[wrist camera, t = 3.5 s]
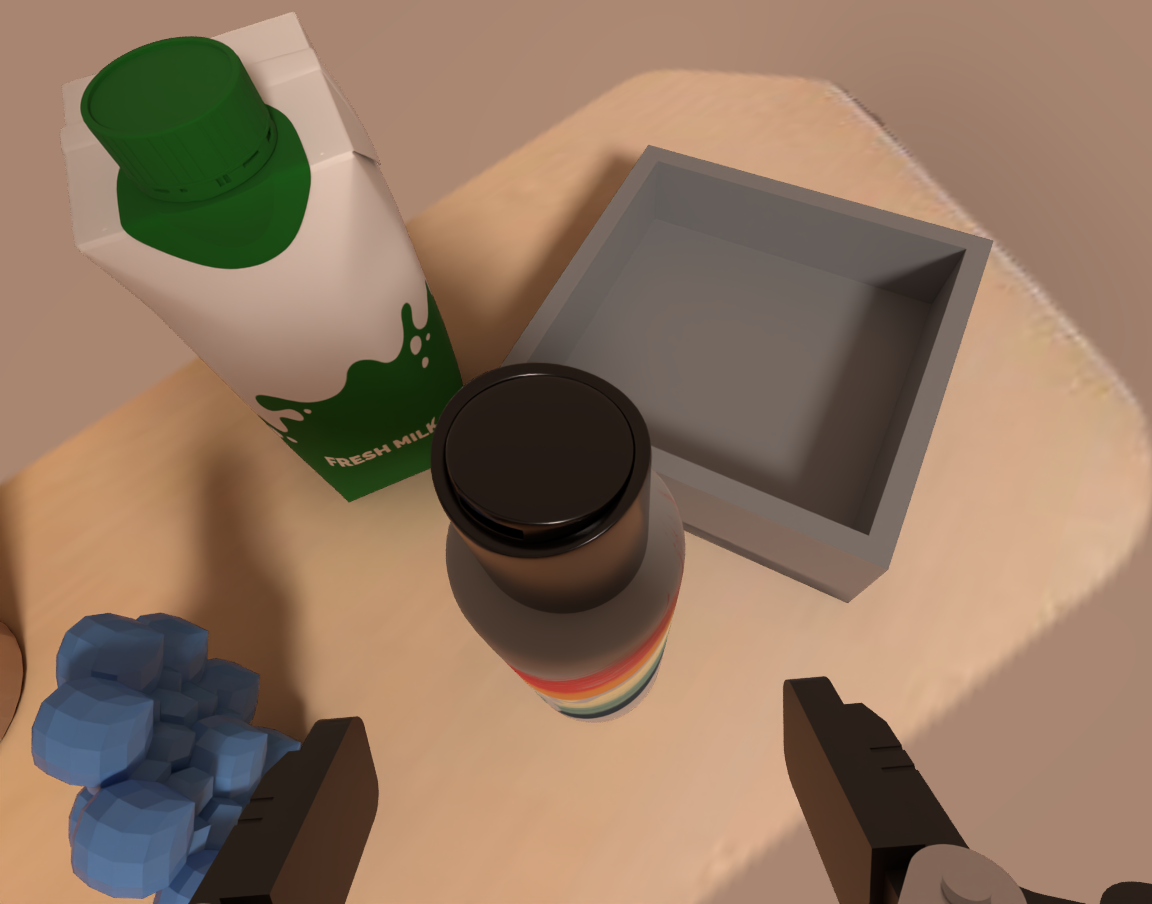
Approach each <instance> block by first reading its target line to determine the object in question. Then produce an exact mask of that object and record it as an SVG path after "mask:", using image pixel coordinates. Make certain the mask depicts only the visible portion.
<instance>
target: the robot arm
mask: <svg viewBox="0 0 1152 904" xmlns="http://www.w3.org/2000/svg"><path fill="white" fill-rule="evenodd" d="M22 678H23V667H22V655H21V651H20V649H19V646H18V643H17V640H16V638H15V636H14V635H13V634H12V632H11V631H10V630H9V629H8V627H7V626H6V625H5V624H4V623H2V622H1V621H0V742H1V740H2V738H3V736H4V734H5V732H6V730H7V728H8V726H9V724H10V722H11V720H12V718H13V715H14V712H15V709H16V706H17V703H18V700H19V697H20V692H21V685H22ZM783 720H784V754H785V761H786V766H787V770H788V774H789V778H790V781H791V784H792V786H793V789H794V791H795V794H796V796H797V799H798V801H799V804H800V806H801V809H802V811H803V814H804V816H805V819H806V821H807V824H808V826H809V829H810V831H811V834H812V836H813V838H814V841H815V844H816V846H817V848H818V851H819V854H820V856H821V859H822V861H823V864H824V866H825V868H826V871H827V874H828V876H829V878H830V881H831V883H832V886H833V888H834V891H835V893H836V896H837V898H838V901H839V903H840V904H1085V903H1080V902H1075V901H1071V900H1066V899H1061V898H1056V897H1052V896H1047V895H1042V894H1039V893H1035V892H1032V891H1030V890H1027V889H1024V888H1021V887H1019V886H1018V885H1017V883H1016V882H1015V881H1014V880H1013V879H1012V877H1011V876H1010V875H1009V874H1008V873H1007V872H1006V871H1005V870H1003V869H1002V868H1001V867H1000V866H999V865H997V864H996V863H995V862H993V861H992V860H990V859H988V858H987V857H985V856H983V855H981V854H979V853H977V852H975V851H973V850H970V849H969V847H968V846H967V845H966V843H965V842H964V840H963V838H962V837H961V836H960V834H959V832H958V831H957V829H956V828H955V826H954V825H953V823H952V822H951V820H950V819H949V817H948V815H947V814H946V812H945V811H944V809H943V808H942V806H941V805H940V803H939V802H938V800H937V799H936V797H935V796H934V794H933V793H932V791H931V789H930V788H929V786H928V785H927V783H926V782H925V780H924V779H923V778H922V776H921V774H920V773H919V771H918V770H916V769H915V766H914V763H913V762H912V760H911V759H910V757H909V756H908V754H907V753H906V751H905V750H903V749H902V745H901V744H900V742H899V740H898V739H897V737H896V736H895V734H894V733H893V731H892V730H891V728H890V727H889V725H888V724H887V722H886V721H885V720H883V719H882V718H881V717H879V716H878V715H877V714H875V713H874V712H873V711H872V710H870V709H869V708H868V707H866V706H865V705H864V704H863V703H854V704H843V702H842V700H841V699H840V697H839V695H838V694H837V692H836V690H835V688H834V687H833V685H832V683H831V682H830V680H829V679H828V678H827V677H825V676H823V677H812V678H800V679H789V680H785V682H784V686H783ZM378 795H379V790H378V780H377V775H376V771H375V767H374V763H373V759H372V755H371V751H370V747H369V743H368V739H367V735H366V731H365V727H364V723H363V721H362V719H361V718H360V717H358V716H356V717H345V718H334V719H322V720H318V721H317V722H316V723H315V724H314V726H313V727H312V729H311V731H310V733H309V735H308V736H307V738H306V740H305V742H304V744H303V746H302V747H301V749H300V750H298V751H288V752H287V753H286V754H285V755H284V756H283V757H282V758H281V759H280V760H279V761H278V762H277V763H276V764H275V765H274V766H272V767H271V768H270V769H269V770H268V771H267V772H266V773H265V774H264V776H263V778H262V779H261V781H260V783H259V784H258V786H257V788H256V790H255V791H254V793H253V795H252V796H251V798H250V803H249V804H247V805H246V807H245V808H244V810H243V812H242V813H241V815H240V817H239V818H238V824H237V825H234V827H233V829H232V830H231V832H230V834H229V835H228V837H227V839H226V841H225V842H224V844H223V846H222V847H221V849H220V851H219V852H218V854H217V856H216V857H215V859H214V861H213V863H212V864H211V866H210V868H209V869H208V871H207V873H206V874H205V876H204V878H203V880H202V881H201V883H200V885H199V886H198V888H197V890H196V891H195V893H194V895H193V897H192V898H191V900H190V902H189V903H188V904H345V902H346V899H347V896H348V893H349V890H350V887H351V885H352V882H353V879H354V876H355V873H356V870H357V867H358V865H359V862H360V859H361V856H362V853H363V850H364V847H365V845H366V842H367V839H368V836H369V833H370V830H371V828H372V825H373V822H374V819H375V816H376V812H377V806H378ZM1100 904H1152V884H1148V883H1142V882H1121V883H1118V884H1114V885H1112V886H1111V887H1109V888H1107V889H1106V891H1105V892H1104V893H1103V895H1102V898H1101V901H1100Z"/></svg>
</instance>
